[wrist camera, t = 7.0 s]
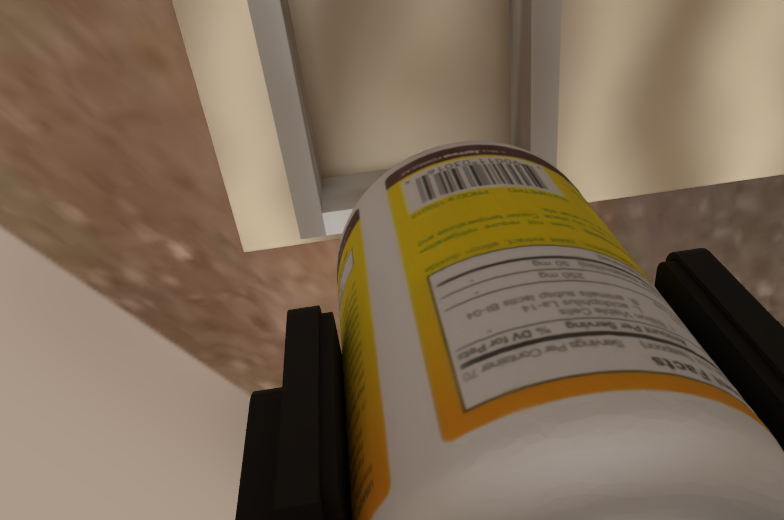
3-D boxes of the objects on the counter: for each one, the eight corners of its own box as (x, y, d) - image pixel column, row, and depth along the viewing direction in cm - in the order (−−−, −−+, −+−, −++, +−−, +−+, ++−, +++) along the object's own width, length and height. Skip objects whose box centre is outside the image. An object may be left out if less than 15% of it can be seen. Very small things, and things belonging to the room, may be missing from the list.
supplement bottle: (443, 378, 16) (581, 953, 8) (282, 247, 14) (229, 888, 5) (628, 246, 15) (1058, 791, 6) (484, 70, 12) (876, 584, 4)
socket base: (894, -214, 22) (1010, -226, 19) (799, 155, 30) (867, 200, 26) (150, -113, 22) (115, -104, 18) (247, 234, 30) (236, 291, 26)
